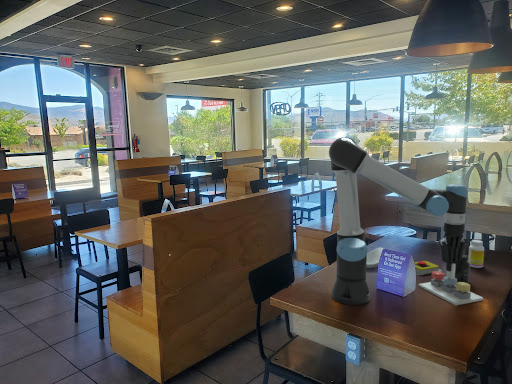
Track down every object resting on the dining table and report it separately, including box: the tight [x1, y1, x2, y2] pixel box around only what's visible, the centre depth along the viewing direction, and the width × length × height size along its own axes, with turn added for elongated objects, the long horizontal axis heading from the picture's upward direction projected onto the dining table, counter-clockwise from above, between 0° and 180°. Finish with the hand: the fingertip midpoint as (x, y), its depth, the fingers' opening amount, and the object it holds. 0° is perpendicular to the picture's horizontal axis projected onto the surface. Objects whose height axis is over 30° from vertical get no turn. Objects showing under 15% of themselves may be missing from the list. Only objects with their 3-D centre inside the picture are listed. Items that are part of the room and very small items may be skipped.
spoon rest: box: [366, 247, 384, 269], centre depth 196 cm, size 24×12×7 cm, turn 131°
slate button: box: [443, 275, 457, 287], centre depth 159 cm, size 5×5×4 cm
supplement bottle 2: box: [467, 239, 485, 269], centre depth 190 cm, size 7×7×13 cm
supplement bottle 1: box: [455, 254, 471, 284], centre depth 170 cm, size 7×7×12 cm
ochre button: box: [456, 282, 471, 294], centre depth 153 cm, size 5×5×4 cm
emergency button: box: [413, 260, 443, 276], centre depth 186 cm, size 9×4×15 cm
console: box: [418, 278, 484, 306], centre depth 159 cm, size 14×20×3 cm
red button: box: [431, 271, 446, 282], centre depth 165 cm, size 5×5×4 cm
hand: (450, 278), depth 159 cm, fingers closed
